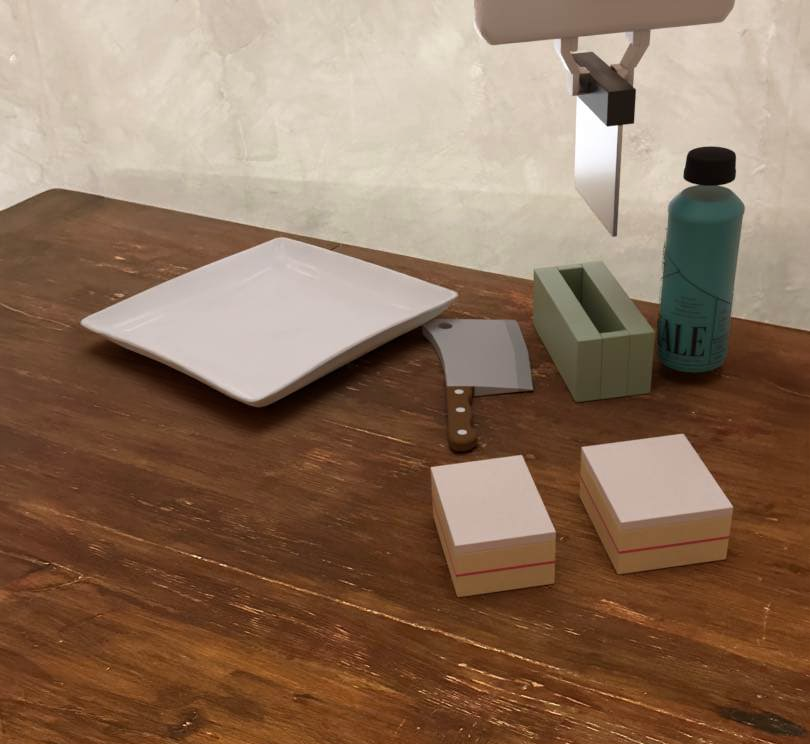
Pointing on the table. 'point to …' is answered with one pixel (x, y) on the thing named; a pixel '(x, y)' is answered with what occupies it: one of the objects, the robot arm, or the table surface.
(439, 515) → the cake slice
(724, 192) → the beverage bottle
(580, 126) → the cake cutter
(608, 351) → the cutter stand
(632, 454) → the cake
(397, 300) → the square plate
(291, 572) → the table surface
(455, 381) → the kitchen cleaver
